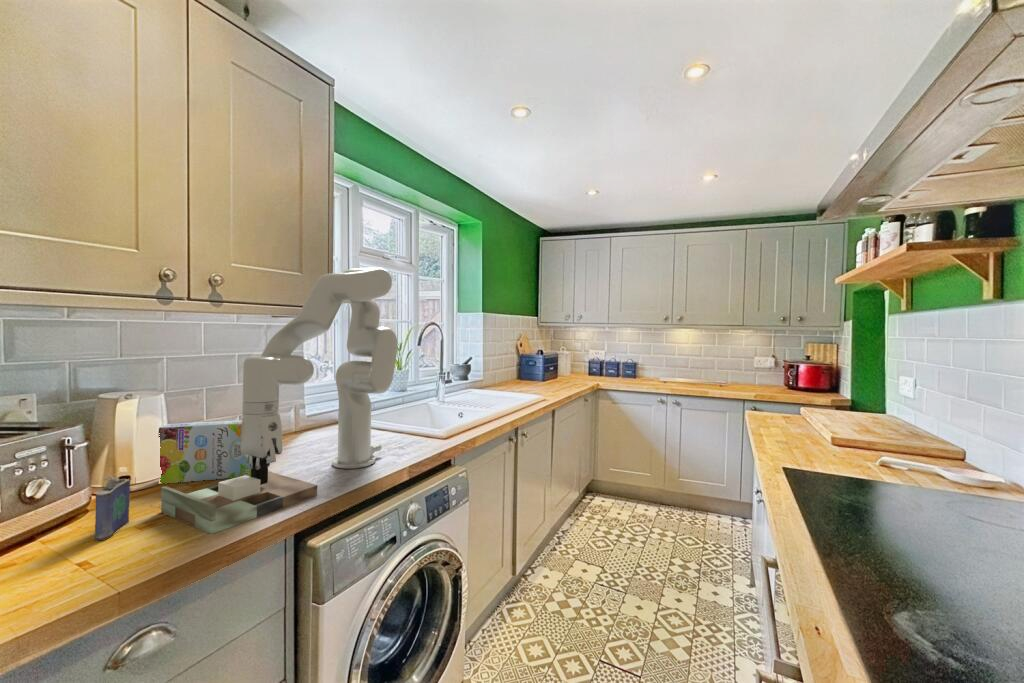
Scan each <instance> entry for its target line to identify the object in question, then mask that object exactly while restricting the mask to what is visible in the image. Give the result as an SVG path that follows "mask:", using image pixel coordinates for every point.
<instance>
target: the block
mask: <svg viewBox="0 0 1024 683" xmlns="http://www.w3.org/2000/svg"><path fill="white" fill-rule="evenodd" d="M217 485H218V496H221V497H224V498H227V499H230V500H232V501H235V500H238V499H241V498H244V497H247V496H251V495H254V494H257V493H260V479H256V478H253V477H250V476H246V475H244V476H240V477H237V478H228V479H224V480H223V481H219V482H218V484H217Z"/></svg>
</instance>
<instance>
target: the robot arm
mask: <svg viewBox="0 0 1024 683" xmlns="http://www.w3.org/2000/svg"><path fill="white" fill-rule="evenodd" d="M392 285H393V279H392V276H391V274H390V272H388V270H386V269H384V268H383V267H363V268H361V267H360V268H359V267H358V268H349V269H345V270H344V271H342V272H335V273H334V272H333V273H332V272H331V273H326V274H322V275H321V276H319V278H318V279H316V282H315V283H314V284H313V286H312V289H311V291H310V292H309V294H308V297H307V298H306V300H305V302H304V303H303V306H302V307H301V309H300V311H299V313H298V314H297V316H296V317H294V318H293V319H292V320H290V321H289V322H288V323H286V324H285V325H284V326H283V327H282V328H281V329H279V330H278V331H277V333H275V334H274V335H273V337H271V338H270V340H269V342H268V343H267V345H266V346H265V347H264V349H263V352H262V353H261V355H260V356H250V357H247V358H246V359H244V361H243V367H242V372H243V373H242V410H241V411H242V414H241V416H242V419H241V420H242V425H241V436H240V448H241V451H242V452H243V453H244V455H245V457H247V458H248V459H249V464H250V468H252V469H251V477H253V478H256V479H260V485H262V484H265V483H267V482H268V471H269V467H270V466H271V464H273V463H276V461H277V458H276V455H281V454H282V453H283V427H282V420H281V415H280V414H279V407H280V403H279V402H280V401H279V400H280V386H281V385H285V386H286V385H288V386H289V385H291V386H298V385H303V384H305V383H307V382H308V381H310V380H311V378H312V377H313V375H314V372H315V367H314V365H313V362H312V361H311V360H310V359H309V358H307V357H305V356H303V355H297V354H296V355H294V354H293V353H294V352H295V350H296V349H298V348H299V346H301V345H303V344H304V343H306V342H307V341H309V340H312V339H315V338H317V337H319V336H321V335H323V334H325V333H326V332H328V331H329V330H330V328H331V326H332V324H333V322H334V320H335V317H336V316H337V314H338V312H339V310H340V307H341V306H342V305H343V304H349V305H350V307H351V315H350V316H351V317H350V322H349V323H350V324H349V327H348V334H347V339H346V340H347V341H346V350H347V351H348V353H349V354H350V355H351V356H355V357H360V358H361V357H363V358H371V361H366V360H347V361H345V362H343V363H341V364H340V365H339V366H338V367H337V369H336V372H335V385H336V389H337V395H338V418H337V419H338V424H337V426H338V427H337V428H338V429H337V430H338V431H337V432H338V433H337V457H334V458H333V459H332V460H331V465H332V466H333V467H335V468H338V469H360V468H365V467H369V466H371V464H372V465H373V464H374V463H375V462H376V458H377V457H376V456H375V455H374V454H375V452H380V451H381V450H382V445H381V444H377V445H374V446H373V445H372V443H371V442H372V440H371V438H372V436H371V435H372V402H371V398H370V396H369V394H375V395H376V394H377V395H381V394H384V393H386V392H387V391H388V390H390V387H391V385H392V383H393V381H394V380H393V379H394V373H395V368H396V360H397V355H398V349H399V348H398V347H399V346H398V345H399V344H398V343H399V342H398V338H397V335H396V333H395V332H394V330H392V329H391V328H389V327H385V326H379V325H380V317H381V316H380V315H381V313H380V312H381V310H380V308H379V305H378V303H377V301H376V300H375V299H378V298H382V297H383V296H386V295H387V294H388V293H389V292H390V290H391V289H392Z"/></svg>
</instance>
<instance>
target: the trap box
mask: <svg viewBox="0 0 1024 683" xmlns="http://www.w3.org/2000/svg"><path fill="white" fill-rule="evenodd" d="M250 477H251V476H250ZM160 489H161V496H160V497H161V499H160V500H161V502H160V504H161V506H160V507H161V508H160V510H161V511H160V512H161V513H162V514H165V515H167V516H169V517H171V518H174V519H175V520H178V521H180V522H183V523H184V524H187V525H190V526H192V527H194V528H196V529H198V530H201V531H203V532H205V533H208V534H210V535H213V534H215V533H219V532H222V531H224V530H227V529H230V528H232V527H235V526H238V525H240V524H243V523H246V522H248V521H251V520H253V519H257V518H259V517H262V516H265V515H269V514H270V513H273V512H275V511H278V510H282V509H284V508H286V507H289V506H292V505H295V504H297V503H300V502H302V501H306V500H308V499H311V498H314V497H316V496H318V484H314V483H311V482H307V481H304V480H300V479H296V478H293V477H291V476H287V475H283V474H279V473H277V472H272V471H269V470H268V482H267V483H265V484H262V485H260V493H257V494H254V495H251V496H247V497H244V498H241V499H238V500H235V501H232V500H230V499H227V498H224V497H221V496H218V484H216V485H213V486H210V487H206V488H202V489H200V490H195V491H193V492H187V493H185V492H182V491H180V490H177V489H175V488H172V487H169V486H161V488H160Z"/></svg>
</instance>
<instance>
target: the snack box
mask: <svg viewBox="0 0 1024 683" xmlns="http://www.w3.org/2000/svg"><path fill="white" fill-rule="evenodd" d="M166 424H167V425H165V424H164V425H165V426H164V425H162V426H160V427H158V438H159V437H160V447H161V448H160V467H161V470H162V474H161V478H160V479H161V480H160V482H161V483H165V484H164V485H167V483H170V484H177V483H178V482H179V484H180V482H181V483H190V482H191V481H194V482H201V481H203V480H205V481H213V480H214V481H215V480H216V479H217V480H229V479H233V478H237V477H240V476H244V475H246V476H251V469H252V468H250V464H249V459H248V458H247V457H245V455H244V453H243V452H242V451H241V448H240V436H241V425H242V419H241V420H221V421H220V420H219V421H202V422H199V421H198V422H182V423H181V422H180V423H166ZM159 433H160V434H159ZM159 435H160V436H159ZM191 483H192V482H191Z"/></svg>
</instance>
